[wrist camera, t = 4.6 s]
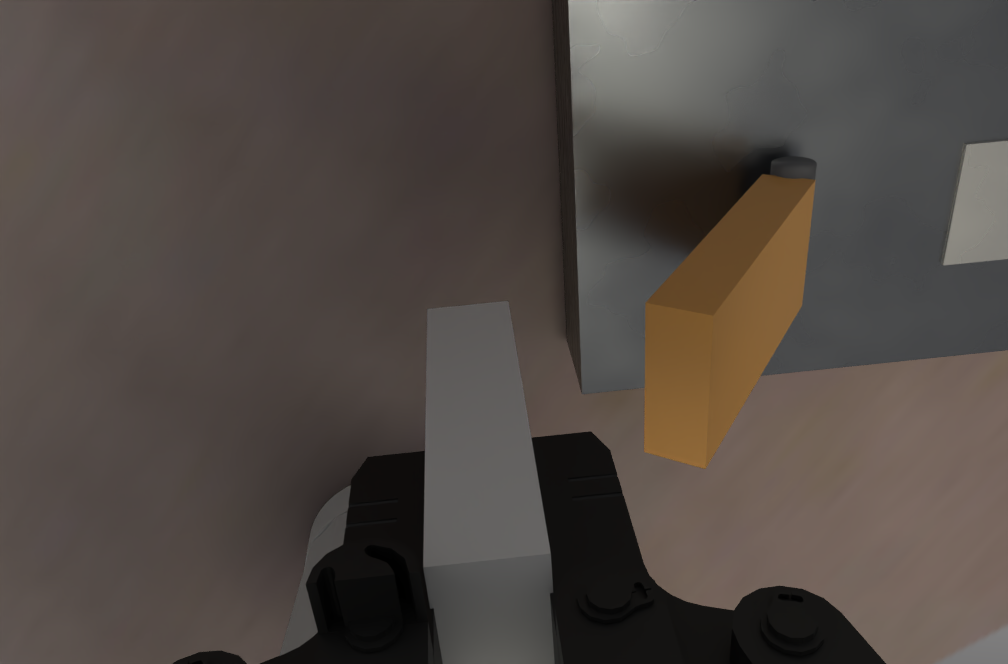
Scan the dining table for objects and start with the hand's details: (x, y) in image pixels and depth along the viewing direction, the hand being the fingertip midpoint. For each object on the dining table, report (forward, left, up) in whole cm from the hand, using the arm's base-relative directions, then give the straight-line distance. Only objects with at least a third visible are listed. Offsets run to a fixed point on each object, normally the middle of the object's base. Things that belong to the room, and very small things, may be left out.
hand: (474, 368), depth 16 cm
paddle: (+8, 0, -5) cm, 9 cm away
